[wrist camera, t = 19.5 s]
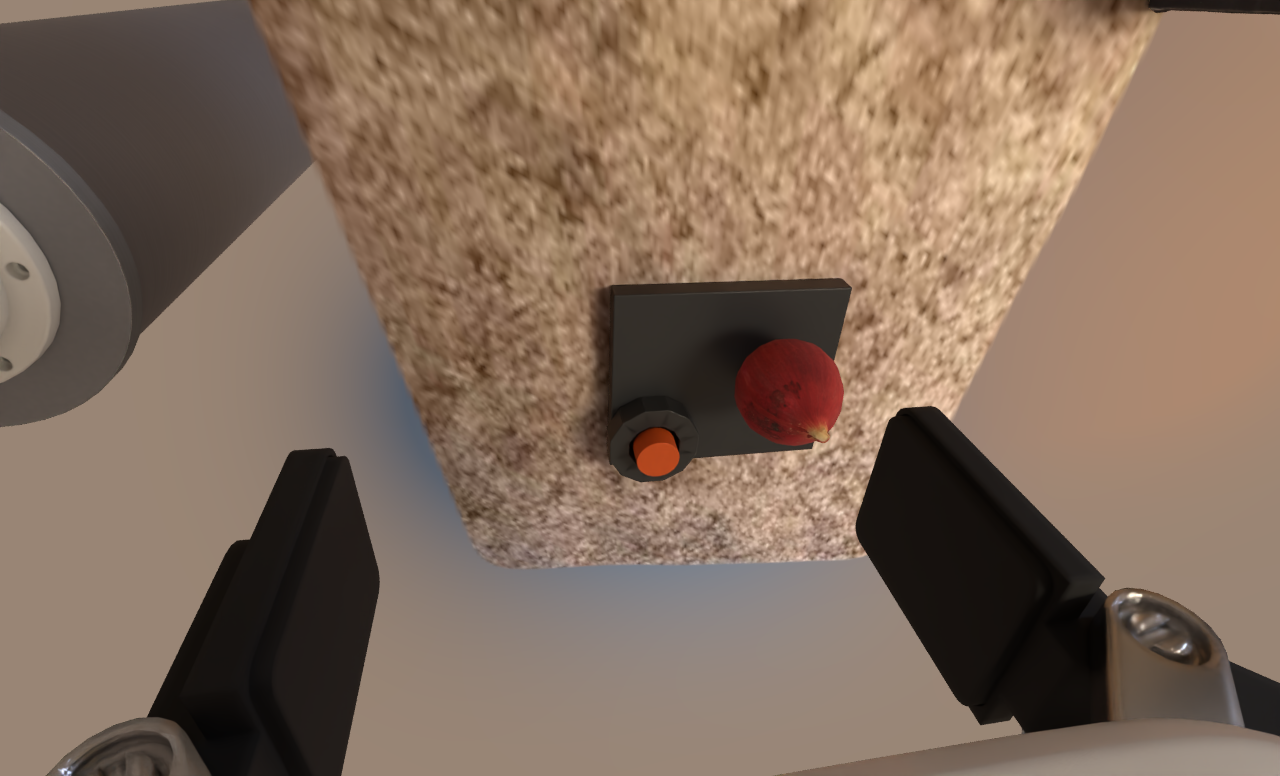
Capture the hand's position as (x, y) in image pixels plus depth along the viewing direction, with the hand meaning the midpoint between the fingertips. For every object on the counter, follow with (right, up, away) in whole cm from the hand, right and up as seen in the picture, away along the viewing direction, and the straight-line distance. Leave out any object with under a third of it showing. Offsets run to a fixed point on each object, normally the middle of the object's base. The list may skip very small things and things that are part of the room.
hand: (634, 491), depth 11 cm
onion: (+8, +4, +27) cm, 29 cm away
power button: (+1, -2, +28) cm, 28 cm away
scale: (+5, +3, +29) cm, 29 cm away
